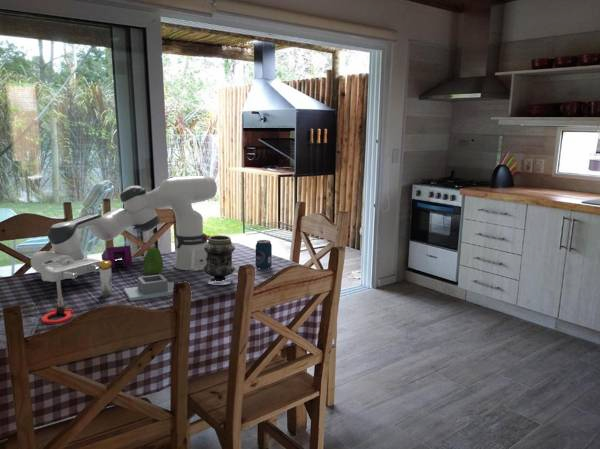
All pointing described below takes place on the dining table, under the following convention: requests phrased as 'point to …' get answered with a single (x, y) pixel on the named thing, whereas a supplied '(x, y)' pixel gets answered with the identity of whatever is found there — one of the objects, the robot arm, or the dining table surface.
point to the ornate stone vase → (219, 257)
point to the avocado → (153, 262)
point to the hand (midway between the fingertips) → (87, 273)
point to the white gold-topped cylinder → (105, 278)
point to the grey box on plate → (150, 288)
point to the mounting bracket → (118, 255)
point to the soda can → (263, 254)
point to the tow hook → (58, 308)
